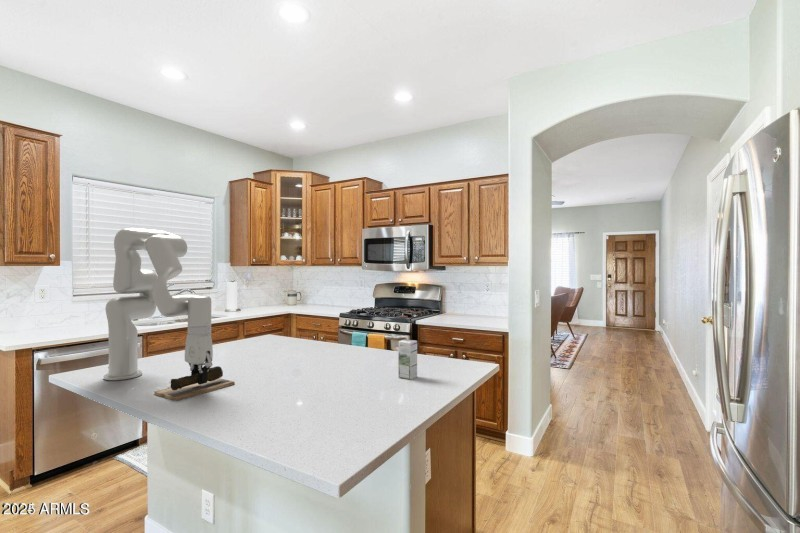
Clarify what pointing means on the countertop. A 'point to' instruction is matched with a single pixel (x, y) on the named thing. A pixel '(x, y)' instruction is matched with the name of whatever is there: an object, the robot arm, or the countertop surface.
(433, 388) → the countertop surface
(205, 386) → the plywood panel
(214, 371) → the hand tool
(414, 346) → the syrup box
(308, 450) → the countertop surface
